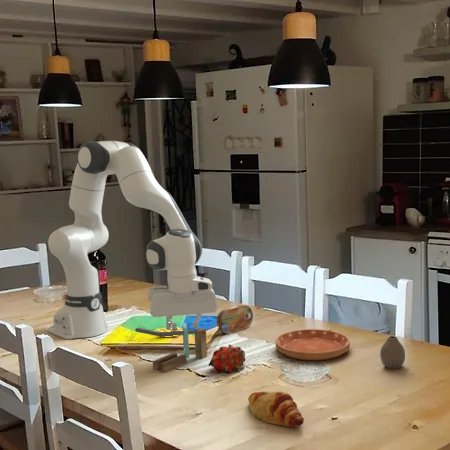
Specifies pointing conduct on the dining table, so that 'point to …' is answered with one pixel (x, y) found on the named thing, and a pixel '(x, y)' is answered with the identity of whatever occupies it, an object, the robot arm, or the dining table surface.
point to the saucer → (312, 344)
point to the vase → (392, 353)
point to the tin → (234, 319)
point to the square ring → (185, 340)
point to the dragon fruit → (227, 359)
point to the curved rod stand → (199, 334)
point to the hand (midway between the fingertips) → (185, 328)
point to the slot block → (169, 362)
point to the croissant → (275, 408)
